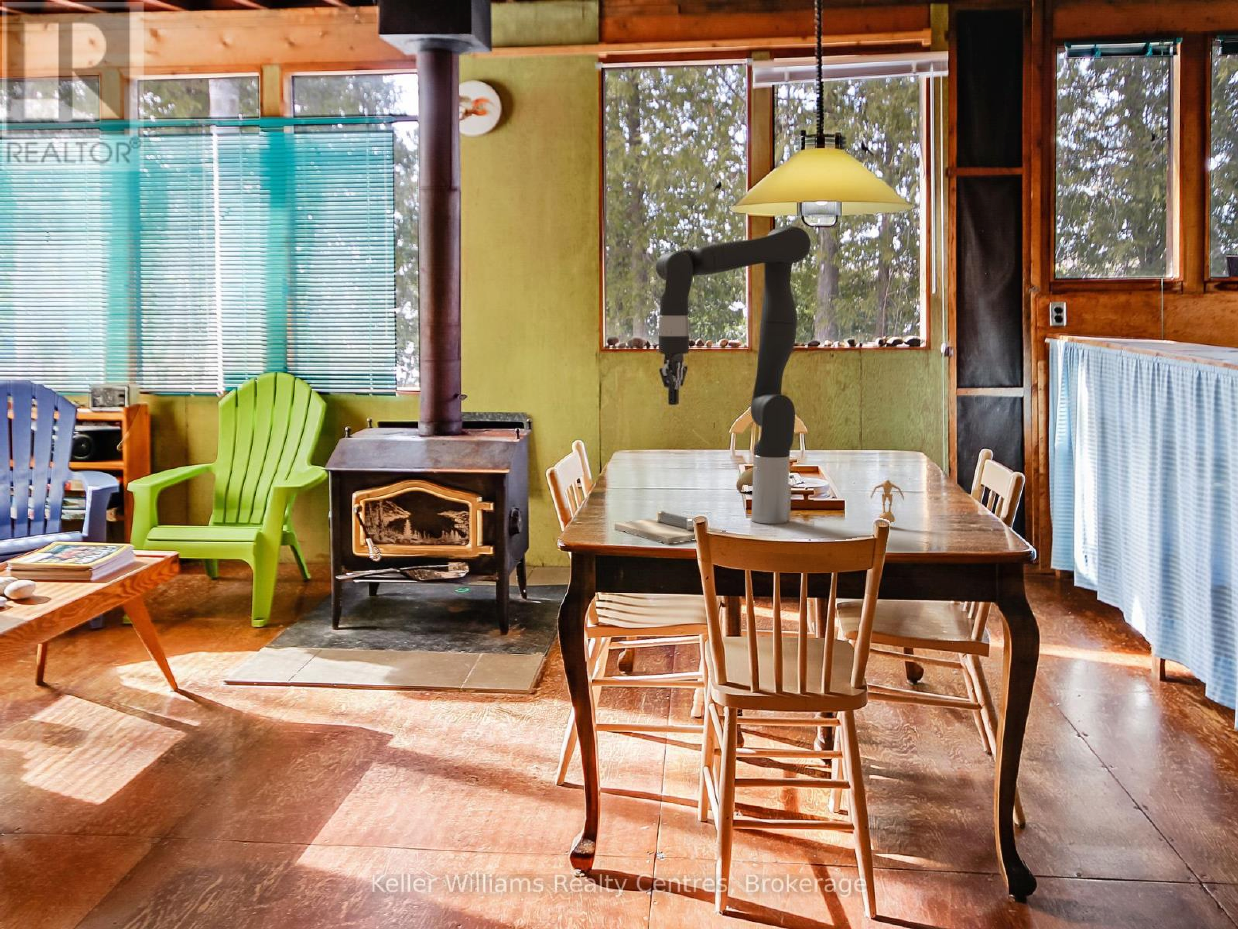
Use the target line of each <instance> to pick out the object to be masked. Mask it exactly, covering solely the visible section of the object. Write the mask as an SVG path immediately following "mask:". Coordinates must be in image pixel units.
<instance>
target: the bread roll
mask: <svg viewBox="0 0 1238 929" xmlns="http://www.w3.org/2000/svg"><path fill="white" fill-rule="evenodd" d="M743 485H748V486H753V467H749V468H748V469H746V470H745V471H743V472H742V473H741V475H740V476H739V477H738V479H737V481H736V484H735V486H736V490H737V491H738V492H740V491H741V490H742V486H743Z"/></svg>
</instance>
